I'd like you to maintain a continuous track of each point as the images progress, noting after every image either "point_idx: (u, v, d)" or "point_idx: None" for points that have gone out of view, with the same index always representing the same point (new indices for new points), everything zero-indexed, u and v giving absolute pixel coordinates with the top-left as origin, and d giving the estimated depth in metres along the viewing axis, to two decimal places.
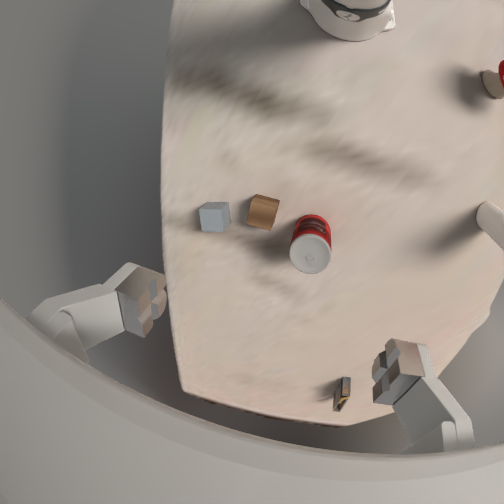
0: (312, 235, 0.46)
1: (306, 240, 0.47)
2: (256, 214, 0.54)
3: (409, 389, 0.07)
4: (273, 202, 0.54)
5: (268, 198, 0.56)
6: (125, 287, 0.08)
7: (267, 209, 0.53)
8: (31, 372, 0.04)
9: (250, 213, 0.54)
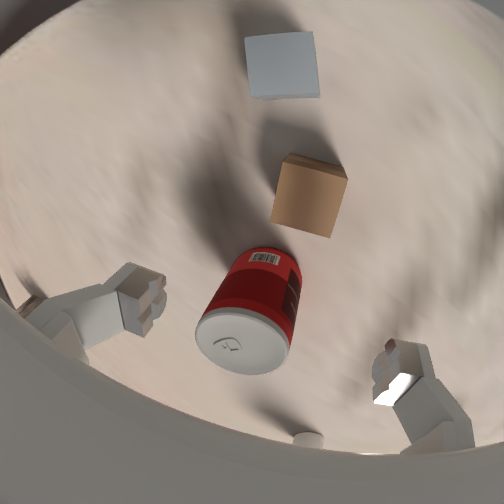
0: (287, 353, 0.20)
1: (273, 343, 0.20)
2: (310, 190, 0.20)
3: (409, 390, 0.07)
4: None
5: None
6: (125, 287, 0.08)
7: (326, 218, 0.20)
8: (31, 372, 0.04)
9: (313, 174, 0.19)
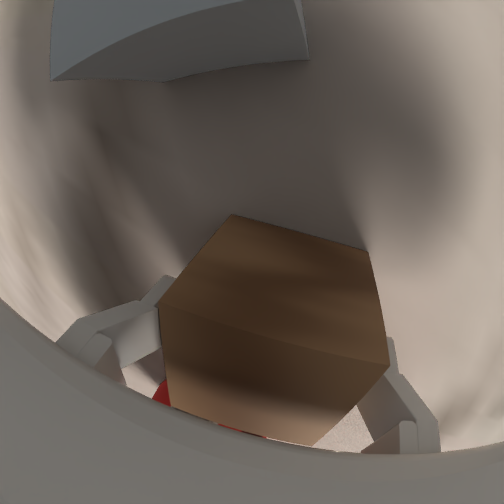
0: None
1: None
2: (260, 383, 0.06)
3: None
4: None
5: None
6: None
7: (307, 426, 0.07)
8: (31, 372, 0.04)
9: (268, 351, 0.05)
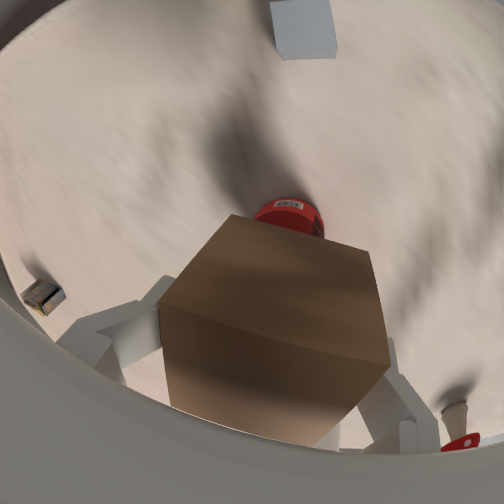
0: None
1: None
2: (260, 383, 0.06)
3: None
4: None
5: None
6: None
7: (307, 426, 0.07)
8: (31, 372, 0.04)
9: (269, 351, 0.05)
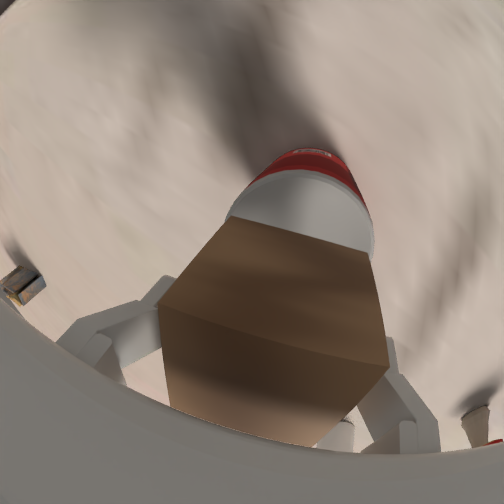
0: (372, 253, 0.13)
1: (352, 234, 0.13)
2: (259, 384, 0.06)
3: None
4: None
5: None
6: None
7: (306, 427, 0.07)
8: (31, 372, 0.04)
9: (268, 353, 0.05)
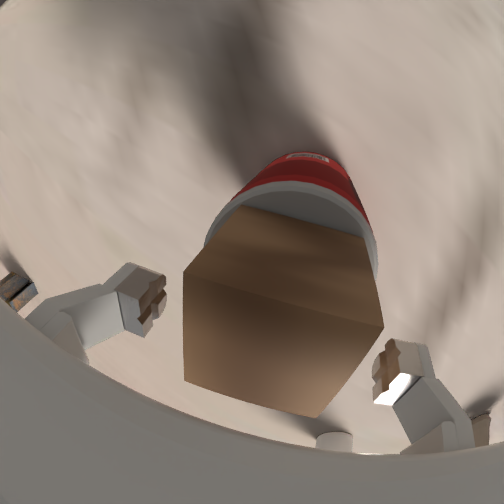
0: (375, 278, 0.11)
1: None
2: (270, 347, 0.07)
3: (409, 390, 0.07)
4: None
5: None
6: (125, 287, 0.08)
7: (312, 394, 0.08)
8: (31, 372, 0.04)
9: (279, 314, 0.06)
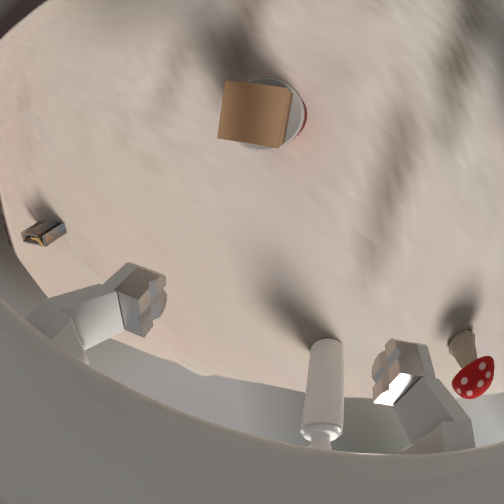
0: (303, 113, 0.23)
1: None
2: (253, 103, 0.19)
3: (409, 390, 0.07)
4: (283, 135, 0.22)
5: (287, 120, 0.23)
6: (124, 287, 0.08)
7: (271, 127, 0.20)
8: (31, 372, 0.04)
9: (254, 88, 0.18)
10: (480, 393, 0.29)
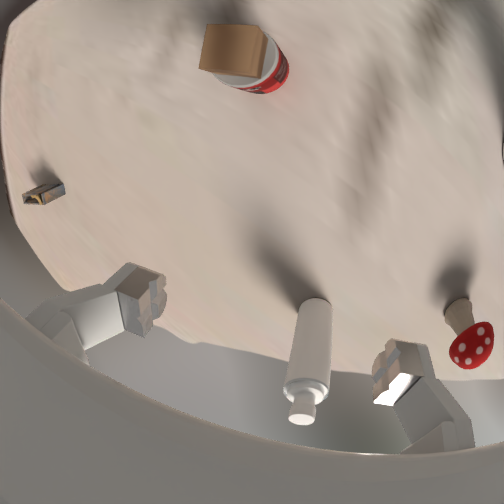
0: (277, 54, 0.23)
1: None
2: (228, 38, 0.19)
3: (409, 390, 0.07)
4: (257, 68, 0.22)
5: (262, 58, 0.23)
6: (125, 288, 0.08)
7: (243, 56, 0.20)
8: (31, 372, 0.04)
9: (230, 27, 0.18)
10: (480, 362, 0.30)
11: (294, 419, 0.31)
